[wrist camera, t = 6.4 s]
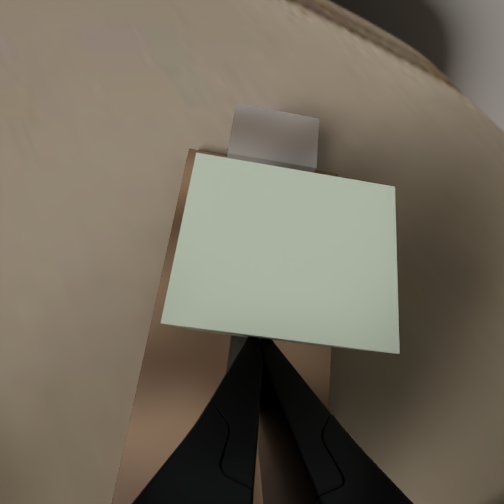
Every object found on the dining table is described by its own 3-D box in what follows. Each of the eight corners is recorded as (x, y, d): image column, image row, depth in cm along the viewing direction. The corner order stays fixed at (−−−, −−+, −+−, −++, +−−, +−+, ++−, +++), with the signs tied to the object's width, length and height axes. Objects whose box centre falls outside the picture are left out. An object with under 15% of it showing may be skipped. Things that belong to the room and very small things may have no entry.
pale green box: (288, 342, 16) (399, 354, 6) (196, 331, 15) (160, 323, 6) (294, 271, 17) (394, 186, 7) (209, 259, 16) (196, 152, 7)
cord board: (306, 763, 12) (398, 1214, 6) (61, 758, 11) (-126, 1264, 5) (332, 180, 20) (382, 112, 14) (190, 156, 20) (178, 73, 13)
